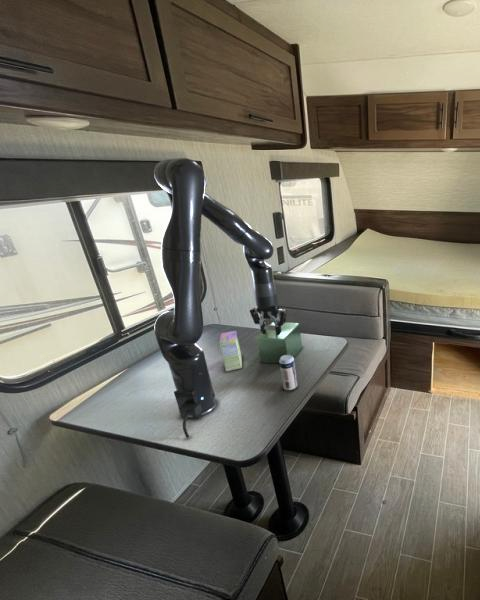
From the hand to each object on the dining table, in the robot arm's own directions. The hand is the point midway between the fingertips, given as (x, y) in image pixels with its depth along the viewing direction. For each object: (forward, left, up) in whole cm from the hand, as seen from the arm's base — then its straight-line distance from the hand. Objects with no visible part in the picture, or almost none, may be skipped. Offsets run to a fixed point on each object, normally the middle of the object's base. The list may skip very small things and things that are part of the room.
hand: (271, 333), depth 125 cm
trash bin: (+6, 0, -12) cm, 14 cm away
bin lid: (+5, 0, -2) cm, 5 cm away
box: (-3, +16, -13) cm, 21 cm away
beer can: (-15, -13, -13) cm, 24 cm away
